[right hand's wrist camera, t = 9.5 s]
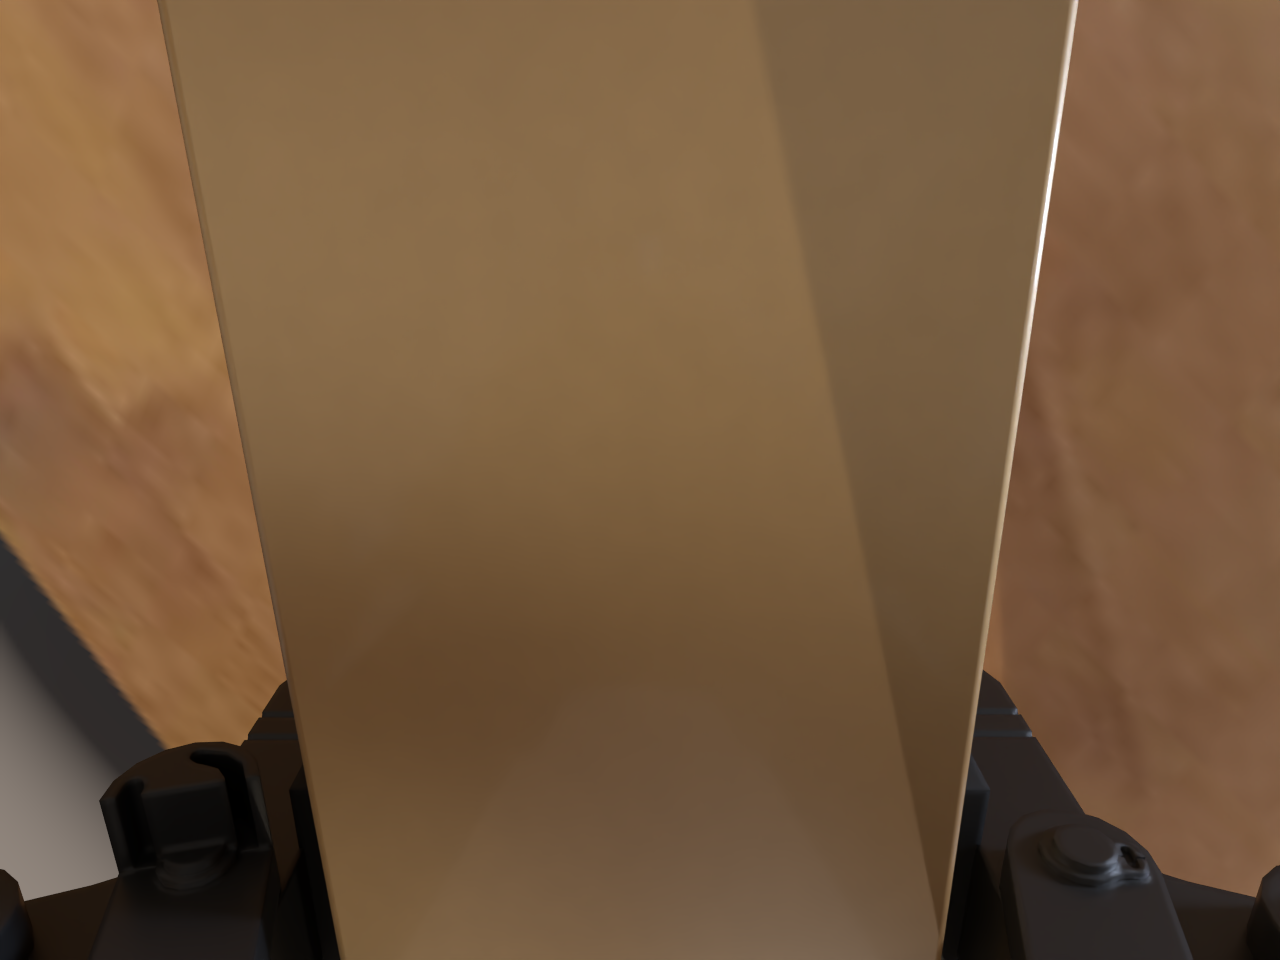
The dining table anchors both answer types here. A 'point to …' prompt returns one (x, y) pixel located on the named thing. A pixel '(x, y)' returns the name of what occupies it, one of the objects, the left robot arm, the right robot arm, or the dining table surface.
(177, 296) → the dining table surface
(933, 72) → the bar
